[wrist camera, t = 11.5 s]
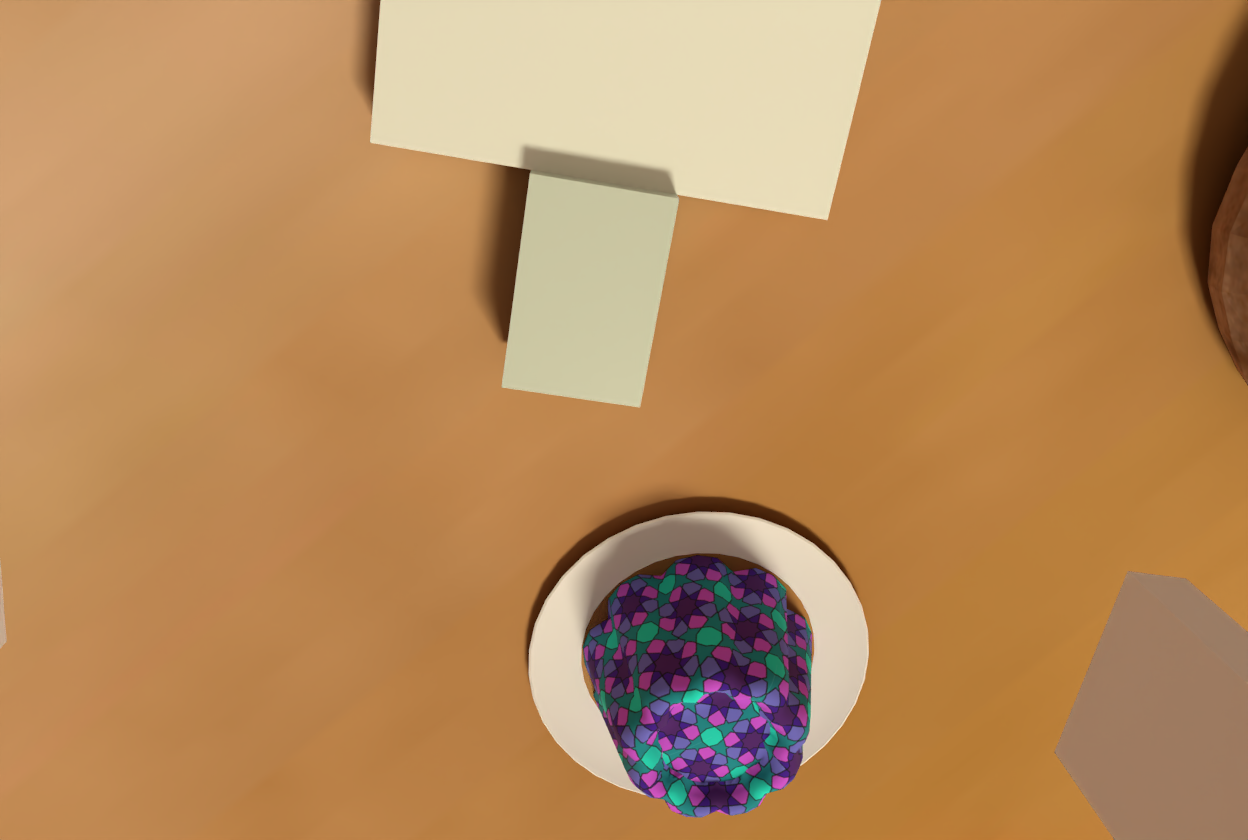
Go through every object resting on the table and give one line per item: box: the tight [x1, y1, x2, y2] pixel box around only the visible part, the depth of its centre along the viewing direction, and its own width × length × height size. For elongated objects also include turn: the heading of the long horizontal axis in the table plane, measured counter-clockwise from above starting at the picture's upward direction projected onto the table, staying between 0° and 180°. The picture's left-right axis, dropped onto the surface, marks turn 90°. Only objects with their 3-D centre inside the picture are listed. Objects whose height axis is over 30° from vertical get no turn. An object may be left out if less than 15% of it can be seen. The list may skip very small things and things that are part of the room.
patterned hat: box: [529, 512, 869, 817], centre depth 32 cm, size 12×12×5 cm
